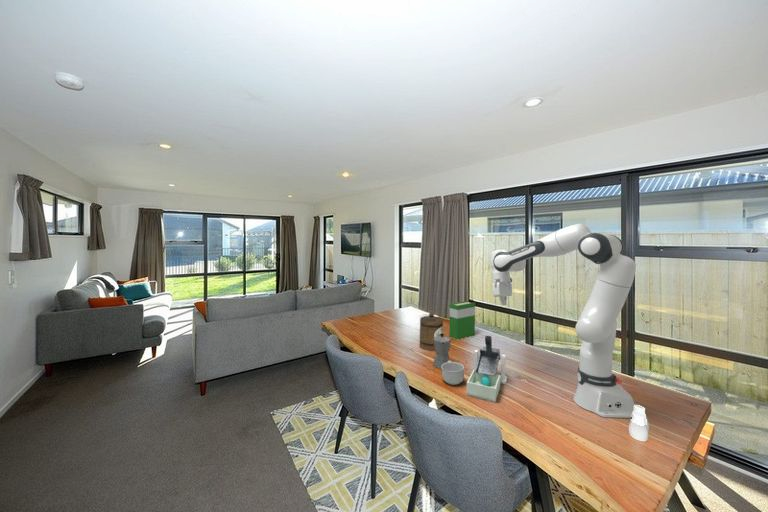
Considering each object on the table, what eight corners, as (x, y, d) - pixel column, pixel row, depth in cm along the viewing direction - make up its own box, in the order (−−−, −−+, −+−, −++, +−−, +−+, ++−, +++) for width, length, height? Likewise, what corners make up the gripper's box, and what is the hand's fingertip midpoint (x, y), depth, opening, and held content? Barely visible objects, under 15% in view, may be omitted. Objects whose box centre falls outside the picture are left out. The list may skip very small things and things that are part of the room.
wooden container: (441, 351, 181) (441, 316, 180) (417, 349, 186) (417, 315, 185) (444, 343, 195) (444, 311, 194) (422, 341, 200) (422, 309, 199)
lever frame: (507, 378, 146) (507, 354, 145) (505, 384, 141) (506, 358, 140) (474, 371, 153) (474, 348, 153) (471, 376, 148) (472, 352, 148)
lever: (502, 355, 150) (500, 330, 143) (497, 383, 136) (495, 357, 130) (481, 351, 155) (479, 327, 148) (475, 378, 141) (472, 353, 134)
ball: (488, 389, 136) (489, 383, 139) (490, 382, 134) (491, 377, 138) (479, 385, 137) (481, 379, 141) (481, 378, 136) (483, 373, 139)
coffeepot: (452, 371, 154) (452, 337, 153) (434, 370, 155) (434, 337, 154) (448, 359, 170) (448, 328, 169) (432, 358, 171) (432, 328, 170)
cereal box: (466, 332, 218) (467, 300, 216) (474, 335, 211) (475, 302, 210) (449, 337, 208) (449, 303, 207) (457, 340, 202) (457, 305, 201)
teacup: (464, 388, 137) (464, 371, 136) (441, 386, 139) (441, 369, 138) (462, 374, 150) (462, 359, 150) (441, 373, 152) (441, 358, 152)
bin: (500, 387, 137) (500, 375, 137) (495, 402, 125) (495, 388, 124) (473, 381, 143) (473, 369, 143) (466, 395, 131) (466, 382, 130)
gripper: (500, 278, 148) (503, 305, 146) (513, 279, 164) (515, 304, 162) (488, 279, 152) (490, 306, 150) (501, 280, 168) (504, 304, 166)
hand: (504, 305), depth 156 cm, fingers closed
